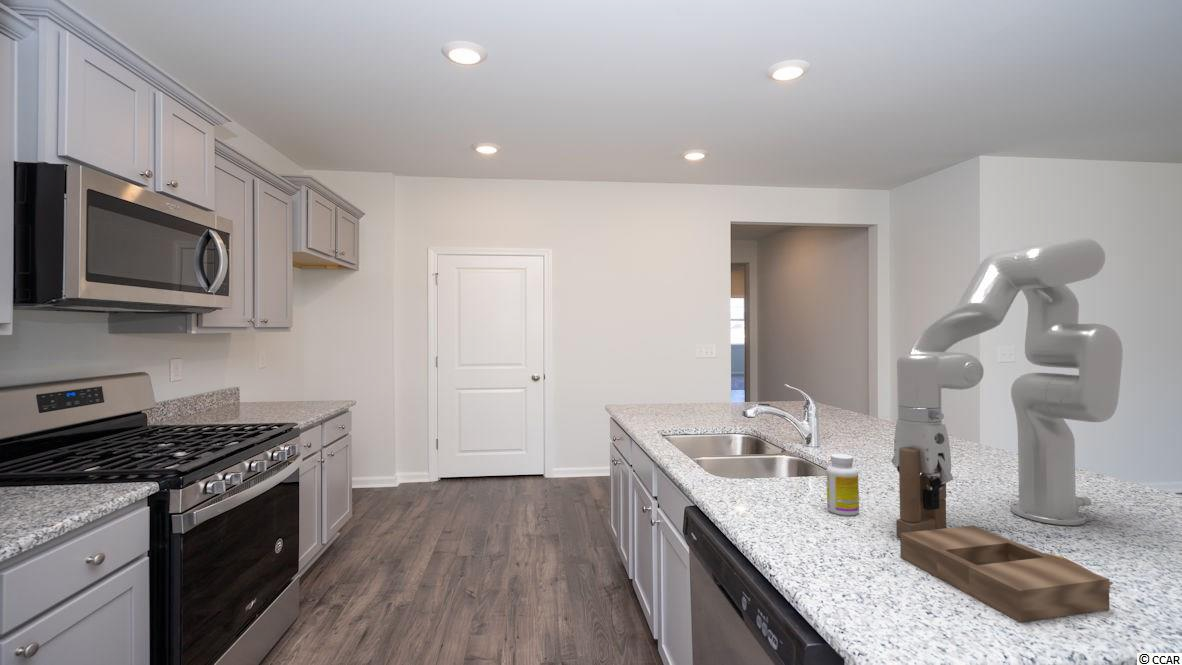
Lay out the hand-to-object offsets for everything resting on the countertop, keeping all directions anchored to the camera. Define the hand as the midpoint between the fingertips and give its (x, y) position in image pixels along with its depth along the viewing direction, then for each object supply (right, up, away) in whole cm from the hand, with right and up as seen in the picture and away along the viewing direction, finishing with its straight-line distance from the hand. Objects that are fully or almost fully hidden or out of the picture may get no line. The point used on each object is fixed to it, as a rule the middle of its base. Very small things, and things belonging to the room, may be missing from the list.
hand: (920, 503), depth 106 cm
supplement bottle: (-9, -7, +15) cm, 18 cm away
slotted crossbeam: (0, -6, -19) cm, 20 cm away
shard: (+15, -7, -16) cm, 23 cm away
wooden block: (0, -7, 0) cm, 7 cm away
